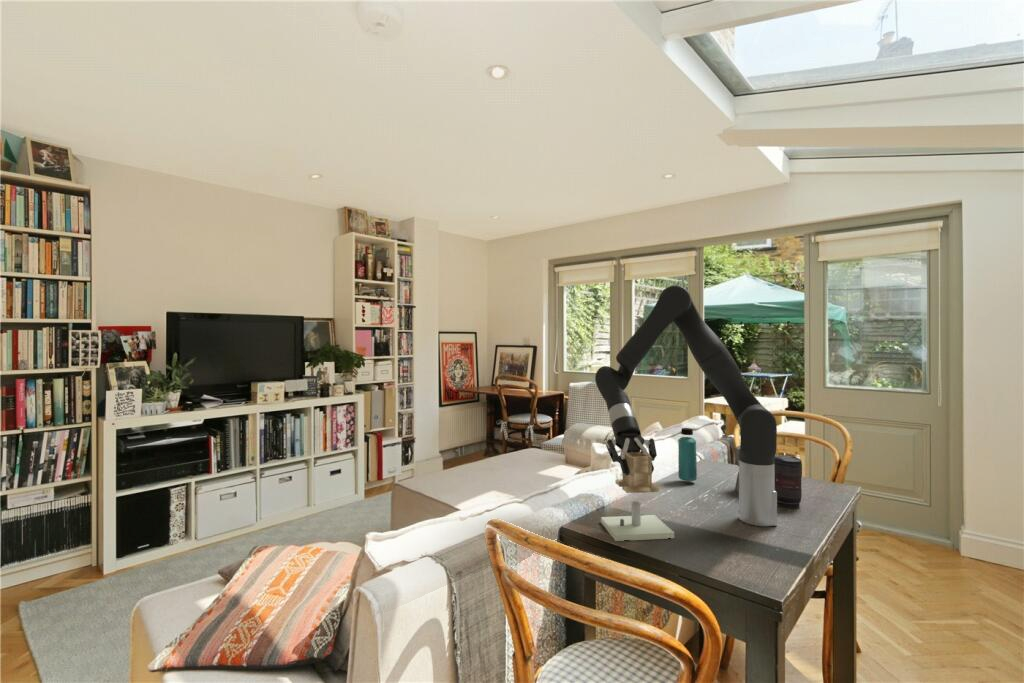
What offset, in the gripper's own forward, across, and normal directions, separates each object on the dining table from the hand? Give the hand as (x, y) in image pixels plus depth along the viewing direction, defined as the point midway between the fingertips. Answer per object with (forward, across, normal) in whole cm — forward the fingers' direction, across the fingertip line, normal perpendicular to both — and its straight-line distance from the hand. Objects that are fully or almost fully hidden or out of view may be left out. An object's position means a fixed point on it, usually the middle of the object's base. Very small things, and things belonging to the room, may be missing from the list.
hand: (639, 473), depth 130 cm
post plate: (+10, 0, +13) cm, 16 cm away
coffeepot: (-10, +52, +33) cm, 63 cm away
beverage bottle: (-18, +35, +41) cm, 57 cm away
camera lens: (+1, +55, +22) cm, 60 cm away
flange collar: (+2, 0, +4) cm, 5 cm away
